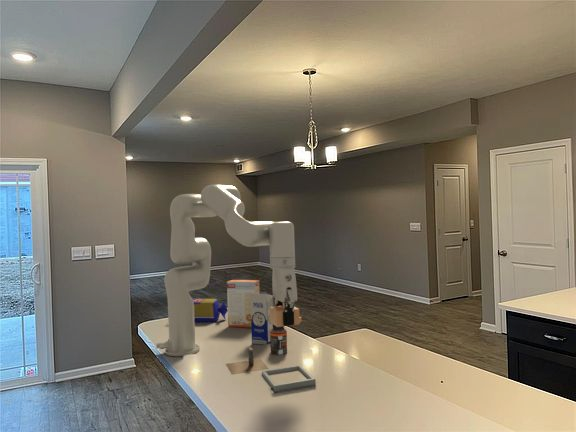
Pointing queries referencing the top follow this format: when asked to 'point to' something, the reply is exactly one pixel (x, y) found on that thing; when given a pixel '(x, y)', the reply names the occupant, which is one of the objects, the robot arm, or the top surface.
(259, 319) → the milk carton
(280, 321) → the ring
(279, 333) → the supplement bottle
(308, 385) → the tray
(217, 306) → the bread
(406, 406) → the top surface
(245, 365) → the brown board with hook
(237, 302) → the cracker box
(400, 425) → the top surface
